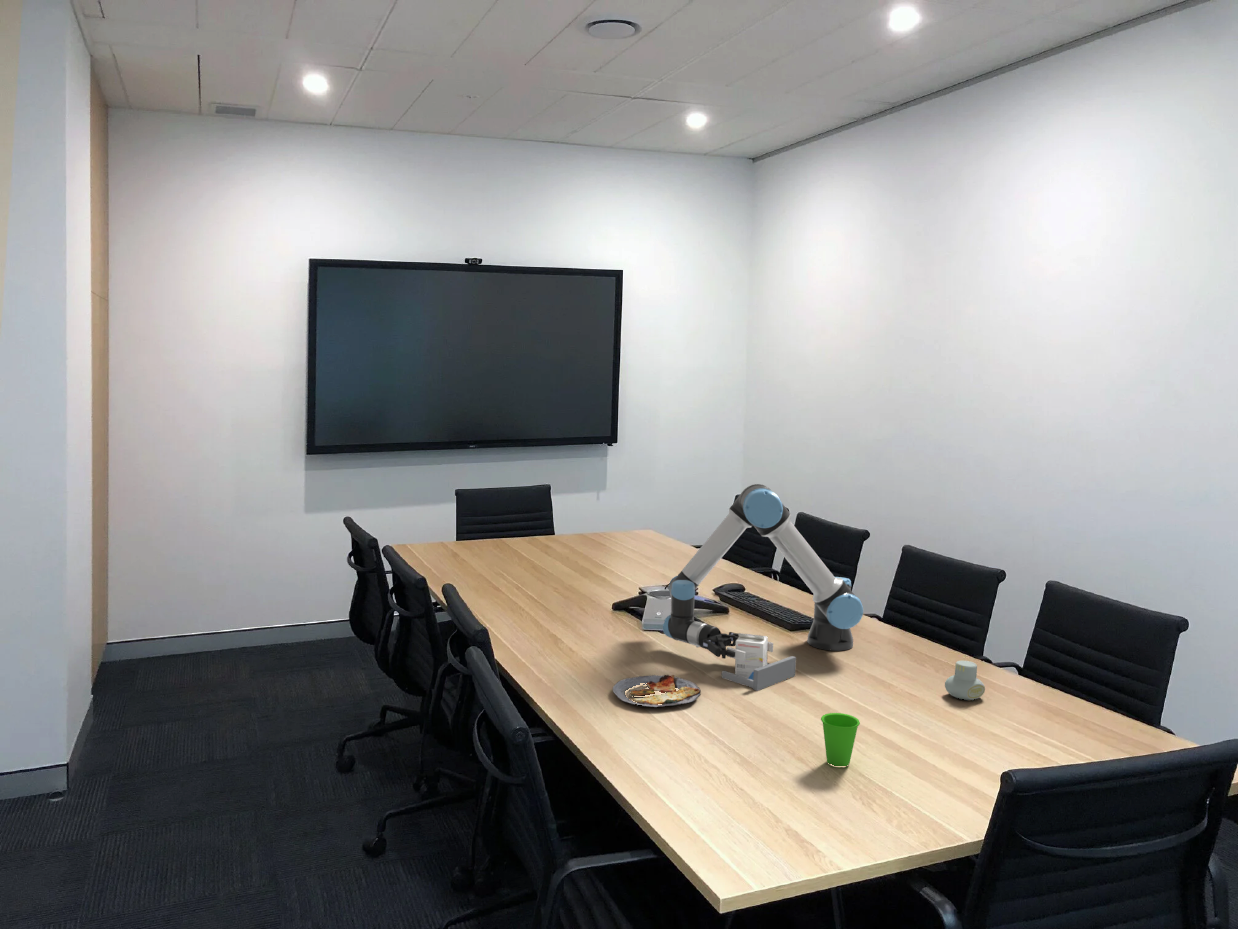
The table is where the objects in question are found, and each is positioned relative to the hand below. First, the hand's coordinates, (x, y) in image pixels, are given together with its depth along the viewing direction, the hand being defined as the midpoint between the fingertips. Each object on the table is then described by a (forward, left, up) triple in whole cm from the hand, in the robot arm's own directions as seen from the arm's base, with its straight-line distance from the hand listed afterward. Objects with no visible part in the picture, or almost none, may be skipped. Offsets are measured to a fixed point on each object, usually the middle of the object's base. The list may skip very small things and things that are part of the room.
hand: (759, 652), depth 287 cm
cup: (-31, +53, -8) cm, 62 cm away
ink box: (+2, -1, -8) cm, 9 cm away
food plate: (+23, +27, -8) cm, 37 cm away
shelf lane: (0, 0, -8) cm, 8 cm away
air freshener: (-59, -8, -8) cm, 60 cm away
